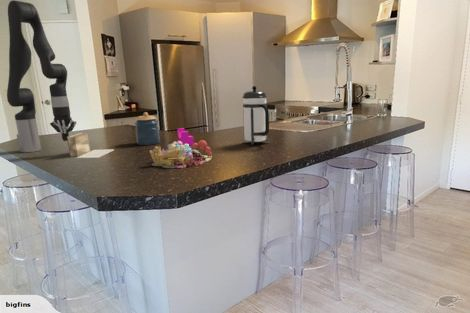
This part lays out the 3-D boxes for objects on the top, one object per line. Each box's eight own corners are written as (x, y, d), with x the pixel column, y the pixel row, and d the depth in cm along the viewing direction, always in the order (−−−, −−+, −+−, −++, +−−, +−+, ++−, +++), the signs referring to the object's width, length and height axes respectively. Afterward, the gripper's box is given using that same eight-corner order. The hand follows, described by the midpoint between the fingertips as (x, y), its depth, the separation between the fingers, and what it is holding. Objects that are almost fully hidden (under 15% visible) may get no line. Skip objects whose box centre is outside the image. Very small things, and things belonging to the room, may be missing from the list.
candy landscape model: (192, 171, 130) (190, 148, 128) (141, 168, 138) (139, 146, 136) (217, 157, 153) (216, 137, 151) (172, 154, 161) (170, 136, 159)
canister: (164, 141, 192) (162, 111, 188) (148, 146, 181) (144, 113, 177) (149, 140, 199) (146, 110, 195) (131, 144, 188) (128, 113, 184)
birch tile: (70, 157, 162) (66, 136, 160) (82, 151, 174) (79, 132, 172) (77, 156, 162) (74, 136, 160) (90, 151, 174) (87, 132, 171)
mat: (75, 158, 159) (75, 157, 159) (94, 150, 176) (94, 149, 176) (98, 158, 158) (98, 157, 158) (114, 149, 175) (114, 149, 175)
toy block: (193, 145, 181) (192, 131, 179) (182, 146, 179) (181, 132, 177) (189, 140, 195) (188, 127, 193) (178, 141, 193) (177, 128, 191)
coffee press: (237, 145, 174) (234, 86, 168) (247, 139, 189) (245, 85, 182) (268, 146, 168) (267, 86, 161) (277, 140, 182) (276, 84, 175)
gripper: (42, 107, 160) (49, 142, 164) (69, 106, 159) (74, 141, 163) (52, 105, 167) (58, 139, 171) (77, 104, 166) (82, 138, 170)
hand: (66, 140), depth 167 cm, fingers closed
